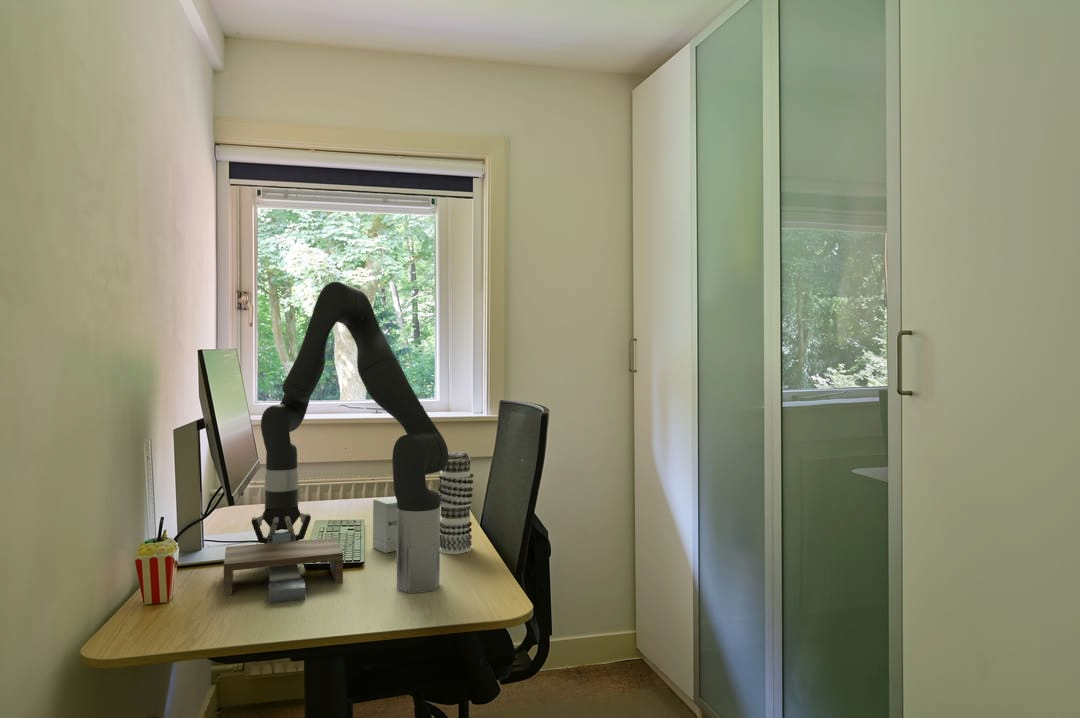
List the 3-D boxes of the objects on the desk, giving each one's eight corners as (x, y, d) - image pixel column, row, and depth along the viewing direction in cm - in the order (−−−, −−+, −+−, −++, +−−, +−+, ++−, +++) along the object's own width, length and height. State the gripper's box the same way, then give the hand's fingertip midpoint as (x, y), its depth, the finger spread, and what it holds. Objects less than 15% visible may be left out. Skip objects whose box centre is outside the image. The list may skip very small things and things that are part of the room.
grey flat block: (305, 602, 146) (305, 587, 146) (268, 606, 144) (269, 591, 144) (303, 591, 153) (303, 577, 153) (268, 595, 150) (268, 580, 150)
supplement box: (385, 553, 180) (385, 503, 180) (372, 547, 186) (372, 498, 186) (411, 548, 185) (411, 500, 185) (397, 542, 191) (397, 495, 191)
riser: (342, 582, 158) (342, 553, 158) (223, 595, 149) (223, 564, 149) (335, 564, 171) (336, 537, 171) (226, 575, 162) (226, 546, 162)
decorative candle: (476, 553, 181) (477, 454, 181) (439, 555, 179) (440, 455, 179) (469, 543, 190) (470, 449, 190) (434, 546, 188) (435, 450, 187)
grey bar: (267, 560, 173) (267, 531, 173) (293, 558, 175) (293, 529, 175) (270, 588, 151) (270, 555, 151) (300, 585, 153) (300, 552, 153)
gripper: (249, 492, 166) (249, 566, 166) (313, 488, 171) (313, 559, 171) (249, 486, 173) (249, 557, 173) (311, 482, 178) (311, 551, 178)
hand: (281, 558), depth 172 cm, fingers closed on grey bar, 4 cm apart
